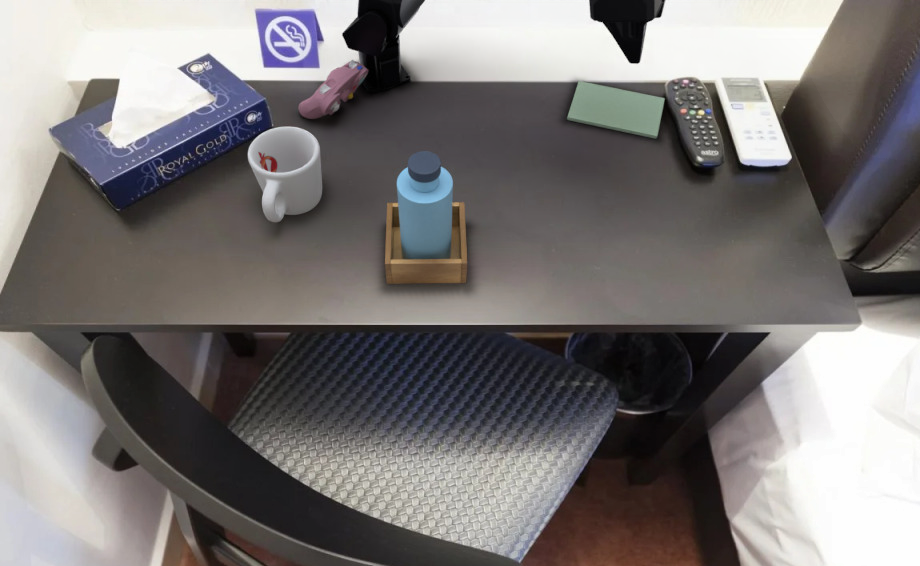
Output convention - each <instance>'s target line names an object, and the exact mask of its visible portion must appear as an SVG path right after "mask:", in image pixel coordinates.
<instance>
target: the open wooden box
mask: <svg viewBox="0 0 920 566" xmlns="http://www.w3.org/2000/svg"><path fill="white" fill-rule="evenodd" d="M385 224H386V226H385V227H386V228H385V247H384V248H385V250H384V251H385V252H384V268H385V277H386V284H388V285H389V284H391V285H393V284H466V283H467V277H468V276H467V274H468V251H467V230H466V229H467V228H466V205H465V201H458V202H455V201H452V238H451V256H450V259H403V257H402V249H401V236H400V222H399V208H398V202H387V203H386V223H385Z"/></svg>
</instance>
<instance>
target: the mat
mask: <svg viewBox="0 0 920 566" xmlns="http://www.w3.org/2000/svg"><path fill="white" fill-rule="evenodd" d="M665 100H666V98H665V97H661V96H657V95H651V94H646V93H642V92H637V91H632V90H631V91H630V90H625V89H621V88H616V87H612V86H607V85H602V84H597V83H593V82H586V81H582V80H578V82H577V85H576V88H575V91H574V95H573V98H572V101H571V105H570V107H569V110H568V113H567V117H566V120H567V121H571V122H575V123H580V124H584V125H588V126H589V125H590V126H594V127H598V128H603V129H608V130H613V131H617V132H623V133H626V134H632V135H636V136H642V137H645V138H650V139H655V140H656V139H657V138H658V135H659V130H660V126H661V125H660V124H661V119H662V115H663V110H664V106H665Z"/></svg>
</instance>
